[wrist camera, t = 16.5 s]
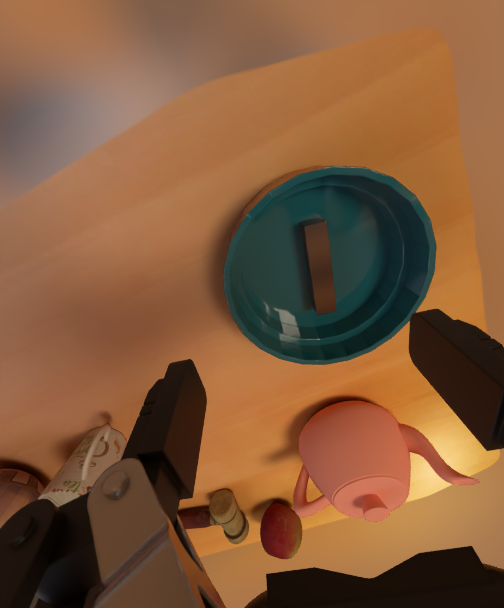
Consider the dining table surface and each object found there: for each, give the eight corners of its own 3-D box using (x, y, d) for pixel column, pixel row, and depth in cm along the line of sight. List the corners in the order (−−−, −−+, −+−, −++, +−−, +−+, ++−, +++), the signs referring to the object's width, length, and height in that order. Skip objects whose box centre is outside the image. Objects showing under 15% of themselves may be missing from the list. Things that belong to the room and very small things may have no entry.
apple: (250, 504, 53) (250, 558, 46) (284, 489, 50) (290, 542, 43) (273, 520, 55) (277, 572, 48) (306, 506, 53) (315, 559, 46)
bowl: (205, 193, 27) (195, 200, 22) (403, 142, 25) (445, 136, 20) (250, 347, 35) (250, 379, 30) (400, 316, 34) (428, 345, 28)
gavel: (147, 550, 54) (122, 526, 49) (155, 523, 58) (133, 498, 53) (248, 543, 50) (231, 516, 46) (249, 514, 54) (234, 487, 50)
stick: (299, 221, 28) (304, 226, 26) (321, 216, 27) (327, 220, 25) (312, 305, 32) (317, 315, 30) (331, 301, 32) (337, 311, 30)
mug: (78, 450, 44) (36, 521, 36) (82, 397, 39) (34, 465, 30) (130, 459, 46) (102, 531, 37) (141, 409, 40) (111, 478, 31)
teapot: (405, 365, 37) (471, 447, 26) (430, 429, 43) (491, 518, 32) (264, 421, 42) (271, 511, 31) (304, 471, 48) (322, 562, 37)
